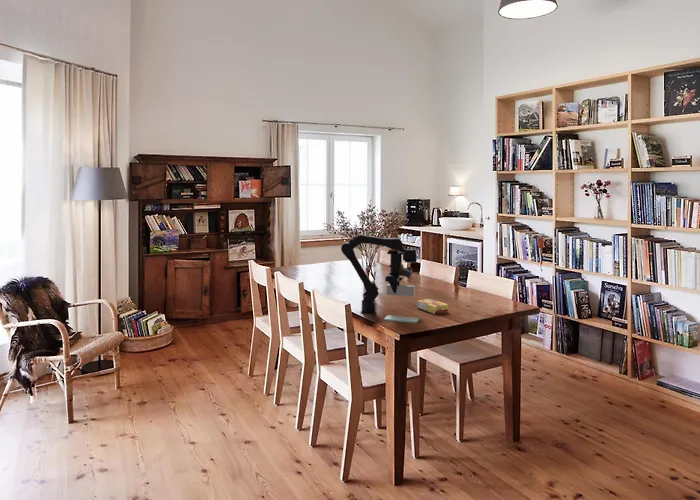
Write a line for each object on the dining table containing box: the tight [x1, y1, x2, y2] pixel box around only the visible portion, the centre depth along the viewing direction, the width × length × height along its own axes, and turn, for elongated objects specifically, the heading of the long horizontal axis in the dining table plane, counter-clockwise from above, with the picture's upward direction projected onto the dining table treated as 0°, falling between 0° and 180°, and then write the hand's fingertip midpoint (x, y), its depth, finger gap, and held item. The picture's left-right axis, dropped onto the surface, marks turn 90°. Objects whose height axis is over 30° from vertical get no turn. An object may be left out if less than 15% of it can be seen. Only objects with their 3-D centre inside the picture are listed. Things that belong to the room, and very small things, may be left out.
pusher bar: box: [386, 283, 416, 297], centre depth 277 cm, size 14×3×5 cm, turn 74°
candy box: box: [416, 298, 449, 315], centre depth 283 cm, size 9×4×15 cm
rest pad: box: [383, 314, 421, 324], centre depth 264 cm, size 16×7×1 cm, turn 71°
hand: (395, 292), depth 278 cm, fingers closed on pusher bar, 3 cm apart
